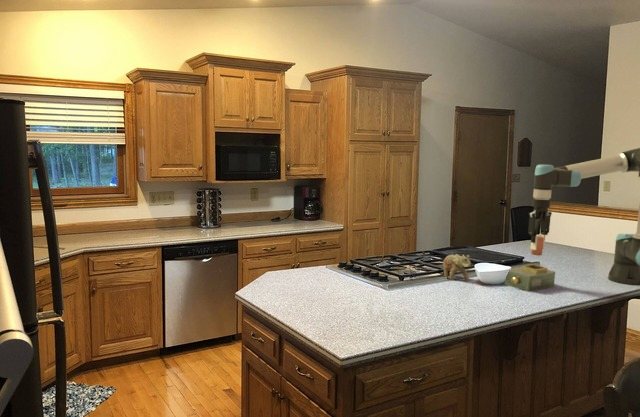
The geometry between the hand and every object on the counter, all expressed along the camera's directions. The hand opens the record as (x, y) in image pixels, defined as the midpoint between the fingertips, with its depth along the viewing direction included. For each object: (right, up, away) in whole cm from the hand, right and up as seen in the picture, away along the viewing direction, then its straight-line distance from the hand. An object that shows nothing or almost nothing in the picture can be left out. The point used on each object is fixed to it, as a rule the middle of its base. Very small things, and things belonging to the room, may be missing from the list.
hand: (537, 248), depth 245 cm
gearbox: (-4, -17, 0) cm, 18 cm away
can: (0, -3, 0) cm, 3 cm away
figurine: (-35, -15, +10) cm, 40 cm away
